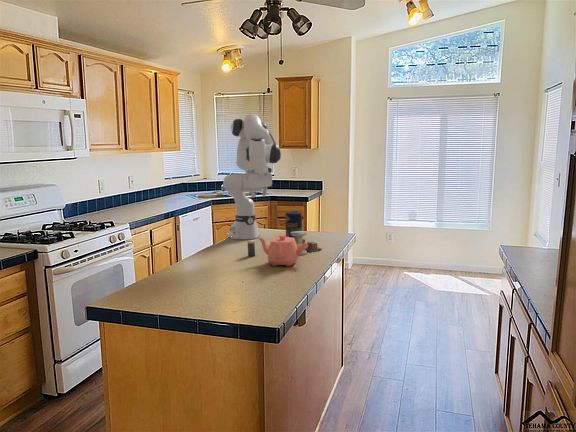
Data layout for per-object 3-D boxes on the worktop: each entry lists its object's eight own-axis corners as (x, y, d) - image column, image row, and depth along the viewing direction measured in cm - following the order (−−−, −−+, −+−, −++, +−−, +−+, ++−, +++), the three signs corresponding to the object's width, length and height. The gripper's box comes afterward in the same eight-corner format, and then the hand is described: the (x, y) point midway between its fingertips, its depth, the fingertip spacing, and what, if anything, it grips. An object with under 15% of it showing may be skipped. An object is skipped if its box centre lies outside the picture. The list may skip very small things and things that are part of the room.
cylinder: (246, 255, 234) (246, 240, 232) (252, 254, 236) (252, 239, 234) (250, 257, 231) (249, 241, 230) (256, 256, 233) (255, 240, 231)
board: (291, 246, 253) (291, 239, 252) (301, 244, 257) (301, 237, 256) (311, 252, 238) (310, 244, 238) (321, 250, 242) (321, 242, 241)
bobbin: (287, 253, 237) (287, 232, 236) (300, 250, 242) (300, 230, 240) (296, 256, 231) (296, 235, 229) (310, 253, 235) (309, 232, 233)
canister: (283, 240, 268) (282, 210, 265) (297, 238, 272) (297, 208, 269) (290, 243, 260) (289, 212, 257) (304, 241, 264) (304, 211, 261)
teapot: (277, 271, 205) (276, 241, 203) (257, 262, 220) (256, 234, 218) (309, 264, 215) (309, 235, 213) (288, 256, 230) (287, 230, 228)
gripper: (250, 170, 222) (251, 198, 224) (274, 168, 239) (274, 195, 241) (240, 170, 225) (241, 198, 227) (264, 169, 242) (265, 194, 244)
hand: (258, 196), depth 234 cm, fingers open, 8 cm apart
